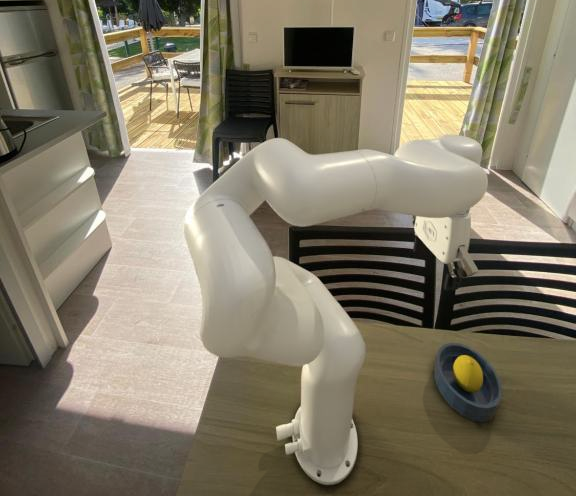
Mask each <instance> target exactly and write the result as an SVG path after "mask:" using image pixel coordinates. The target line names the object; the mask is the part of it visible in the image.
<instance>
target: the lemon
mask: <svg viewBox="0 0 576 496" xmlns="http://www.w3.org/2000/svg"><path fill="white" fill-rule="evenodd" d="M453 374H454V377H455V380H456V382H457V383H458V385H459V386H460V387H461V388H462V389H464V390H465V391H467V392H471V393H474V392H477V391H479V389H480V388H481V387H482V383H483V373H482V370H481V367H480V366H479V364H478V363H477V361H475V360H474V359H473V358H472V357H470V356H467V355H461V356H459V357H458V358H457V359H456V360H455V362H454V365H453Z"/></svg>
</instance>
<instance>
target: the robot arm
mask: <svg viewBox="0 0 576 496" xmlns="http://www.w3.org/2000/svg"><path fill="white" fill-rule="evenodd" d="M483 151H484V150H483V147H482V145H481V144H480V143H479V142H478V140H475V139H473V138H471V137H468V136H465V135H460V134H444V135H440V136H439V137H438V138H430V139H429V138H428V139H413V140H409V141H407V142H405V143H403V144H402V145H400V146H398V148H397V149H396V150H395V152H394V154H389V153H387V152H386V153H385V152H383V151H379V150H374V149H368V148H362V149H356V150H346V151H339V152H338V151H337V152H329V153H319V154H312V153H308V152H306V151H304V150H303V149H302V148H300V147H299V146H298V145H296V144H295V143H293V142H292V141H290V140H289V139H286V138H283V137H274V138H271V139H268V140H265V141H264V142H261V143H260V144H257V145H256V146H255V147H253V148H252V149H251V150H250V151H248V152H247V153H246V154H244V155H243V156H242V157H241V158H240V159H238V160H237V161H236V162H235V163H234V164H233V165H232V166H231V167H229V168H228V169H227V170H226V171H225V172H224V173H222V175H221V176H219V178H217V179H216V180H215V181H214V182H213V183H212V184H211V185H210V186H209V187H208V188H206V189H205V190H204V191H203V192H202V193H201V194H200V195H199V196H198V197H197V198H196V199H195V201H193V202H192V204H191V205H190V207H189V209H188V211H187V212H186V215H185V217H184V222H183V233H184V238H185V241H186V245H187V248H188V251H189V254H190V257H191V260H192V263H193V267H194V271H195V274H196V277H197V281H198V284H199V287H200V293H201V306H202V307H201V320H200V324H199V337H200V341H201V343H202V345H203V347H204V349H205V350H206V351H207V352H208V353H210V354H211V355H213V356H216V357H218V358H226V359H227V358H228V359H230V358H240V357H248V358H252V359H255V360H260V361H265V362H269V363H274V364H278V365H284V366H288V367H302V369H301V375H300V376H301V377H300V385H301V386H300V387H301V388H300V406H299V408H298V409H297V411H296V413H295V416H294V418H293V419H291V422H289V423H286V424H280V425H277V426H275V431H276V432H275V433H276V439H277V440H276V441H277V442H279V441H283V440H286V439H288V438H290V437H292V442H291V441H290V442H288V443H285V444H284V449H285V455H286V456H289V455H292V454H295V457H296V460H297V463H299V466H300V468H301V469H302V470H303V472H304V473H305V475H307V476H308V477H309V478H310V479H311V480H313V481H314V482H316V483H318V484H319V485H323V486H324V485H325V486H333V485H336V484H339V483H341V482H342V481H344V480H345V479H346V478H347V477H348V476H349V475H350V474H351V472H352V470H353V468H354V467H355V464H356V460H357V454H358V446H359V445H358V444H359V441H358V433H357V429H356V428H357V427H356V425H355V423H354V420H353V411H354V402H355V393H356V385H357V380H358V378H359V377H358V376H359V375H360V372H361V370H362V367H363V365H364V363H365V360H366V353H367V348H366V343H365V340H364V337H363V335H362V333H361V331H360V330H359V329H358V327H357V325H356V324H355V321H354V320H353V319H352V318H351V317H350V316H349V314H348V313H347V311H345V309H344V308H343V307H342V305H341V304H340V303H339V302H338V301H337V300H336V298H335V297H334V296H333V295H332V293H331V292H330V291H329V290H328V288H327V287H326V286H325V284H324V283H323V282H322V281H321V280H320V278H318V277H317V276H316V275H315V274H314V273H312V272H310V271H309V270H307V269H305V268H304V267H301V266H300V265H298V264H296V263H294V262H292V261H290V260H288V259H286V258H284V257H282V256H273V253H272V251H271V248H270V247H269V244H268V243H267V241H266V239H265V238H264V236H263V235H262V233H261V232H260V230H259V229H258V227H257V225H256V224H255V222H254V221H253V220H252V218H251V215H252V214H253V213H254V212H255V211H256V210H257V209H258V208H259V207H260V206H261V205H262V204H263V203H264V202H265V201H266V203H267V204H268V205H269V207H270V208H271V209H272V210H273V211H274V212H275V213H276V214H277V215H278V217H280V219H282V220H283V221H284V222H286V223H287V224H290V225H291V226H295V227H300V228H301V227H311V226H315V225H319V224H323V223H326V222H327V223H328V222H331V221H335V220H339V219H341V218H346V217H350V216H353V215H357V214H361V213H365V212H368V211H369V212H370V211H373V210H382V211H386V212H389V213H394V214H400V215H406V216H412V219H413V220H412V225H413V228H414V230H413V235H414V236H415V237H414V241H413V247H412V252H413V253H414V254H419V253H424V252H427V251H428V250H429V251H430V252H431V253H432V254H433V255H434V256H435V257H436V258H437V259H438V260H439V261H440V262H441V263H443V264H445V265H447V268H448V272H446V274H445V278H444V283H443V289H444V290H445V291H446V292H448V291H449V292H450V291H456V290H459V289H460V288H461V284H462V280H463V278H464V279H465V278H469V277H473V276H474V275H475V274H477V273H478V272H479V269H478V266H477V265H476V264H475V262H474V260H473V258H472V256H471V255H470V253H469V252H468V251H469V247H470V240H471V233H472V231H471V230H472V216H471V214H470V211H471V208H473V207H475V206H476V205H477V204H478V203H479V202H480V201H481V200H482V199H483V197H484V196H485V195H486V192H487V190H488V185H489V179H488V174H487V173H486V171H485V169H484V168H483V167H482V166H481V161H482V158H483ZM455 262H456V263H457V267H458V268H456V267H455V264H454V263H455ZM318 475H319V476H318Z"/></svg>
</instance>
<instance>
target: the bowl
mask: <svg viewBox="0 0 576 496" xmlns="http://www.w3.org/2000/svg"><path fill="white" fill-rule="evenodd" d="M461 355H467V356H470V357H472V358H473V359H474V360H475V361H477V363H478V364H479V366H480V367H481V370H482V373H483V383H482V387H481V388H480V389H479V391H477V392H474V393H471V392H467V391H465V390H464V389H462V388H461V387H460V386H459V385H458V383H457V382H456V380H455V377H454V374H453V365H454V362H455V360H456V359H457V358H458V357H459V356H461ZM433 378H434V382H435V385H436V388H437V389H438V391H439V393H440V394H441V397H442V398H443V400H444V401H445V402H446V403H447V404H448V405H449V406H450V407H451V408H452V409H453V410H454V411H455V412H457V413H458V414H459V415H461V416H462V417H464V418H467V419H469V420H471V421H474V422H481V423H485V422H488V421H490V420H492V419H493V418H494V417H495V416H496V415H497V412H498V410H499V406H500V404H501V401H502V396H503V387H502V382H501V379H500V377H499V375H498V374H497V371H496V370H495V368H494V367H493V366H492V365H491V363H490V362H489V361H488V359H486V358H485V357H484V356H483V355H482V354H481V353H479V352H478V351H477V350H475V349H474V348H472V347H470V346H468V345H466V344H462V343H459V342H447V343H445V344H443V345H442V346H441V347H439V348H438V351H437V354H436V358H435V362H434V366H433Z"/></svg>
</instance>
